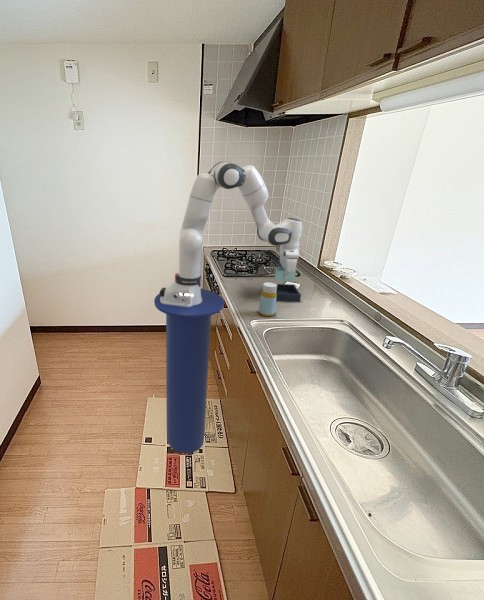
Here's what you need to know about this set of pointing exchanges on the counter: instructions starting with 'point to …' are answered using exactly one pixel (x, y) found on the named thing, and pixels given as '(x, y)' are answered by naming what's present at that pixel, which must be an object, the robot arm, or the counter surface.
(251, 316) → the counter surface
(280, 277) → the case
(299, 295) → the tote
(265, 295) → the bottle
